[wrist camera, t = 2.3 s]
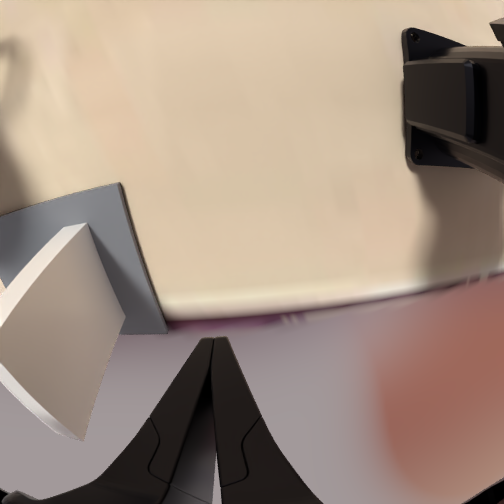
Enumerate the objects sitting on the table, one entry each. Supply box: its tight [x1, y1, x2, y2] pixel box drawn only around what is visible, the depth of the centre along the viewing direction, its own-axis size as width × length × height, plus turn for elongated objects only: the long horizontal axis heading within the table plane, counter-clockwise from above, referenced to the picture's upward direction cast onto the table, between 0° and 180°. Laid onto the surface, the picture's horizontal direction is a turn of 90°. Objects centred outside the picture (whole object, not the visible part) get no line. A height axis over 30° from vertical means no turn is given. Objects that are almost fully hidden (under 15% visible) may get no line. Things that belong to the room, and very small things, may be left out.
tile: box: [0, 223, 126, 441], centre depth 10 cm, size 2×6×8 cm, turn 6°
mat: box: [0, 182, 168, 334], centre depth 13 cm, size 12×9×1 cm
